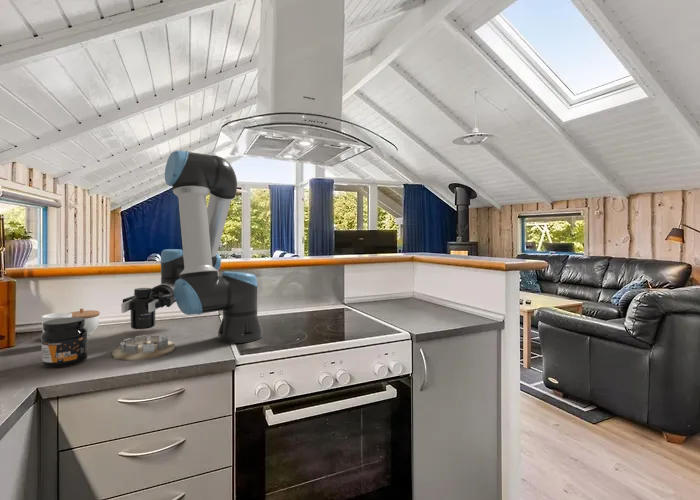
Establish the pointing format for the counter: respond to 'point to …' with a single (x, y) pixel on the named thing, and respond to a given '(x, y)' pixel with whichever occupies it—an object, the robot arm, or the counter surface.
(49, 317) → the white cup
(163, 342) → the castellated ring
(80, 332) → the supplement container
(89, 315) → the lidded jar
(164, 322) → the counter surface
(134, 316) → the supplement bottle
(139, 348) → the seat plate
